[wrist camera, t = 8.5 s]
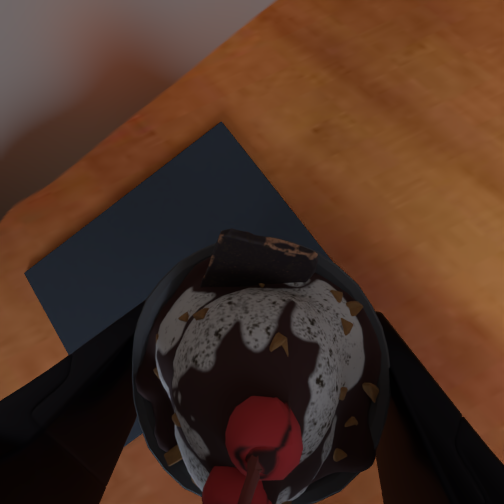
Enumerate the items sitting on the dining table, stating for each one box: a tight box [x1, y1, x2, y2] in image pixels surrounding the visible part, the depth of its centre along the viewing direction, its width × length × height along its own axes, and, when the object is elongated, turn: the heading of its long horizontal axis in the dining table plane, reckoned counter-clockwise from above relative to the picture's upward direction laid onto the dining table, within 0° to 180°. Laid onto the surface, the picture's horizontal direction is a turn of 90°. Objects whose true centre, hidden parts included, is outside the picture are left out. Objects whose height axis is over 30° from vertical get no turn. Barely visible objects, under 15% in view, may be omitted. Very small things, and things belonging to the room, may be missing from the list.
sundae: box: [132, 228, 391, 504], centre depth 10 cm, size 7×7×15 cm
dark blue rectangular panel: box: [24, 122, 332, 446], centre depth 19 cm, size 14×18×1 cm
